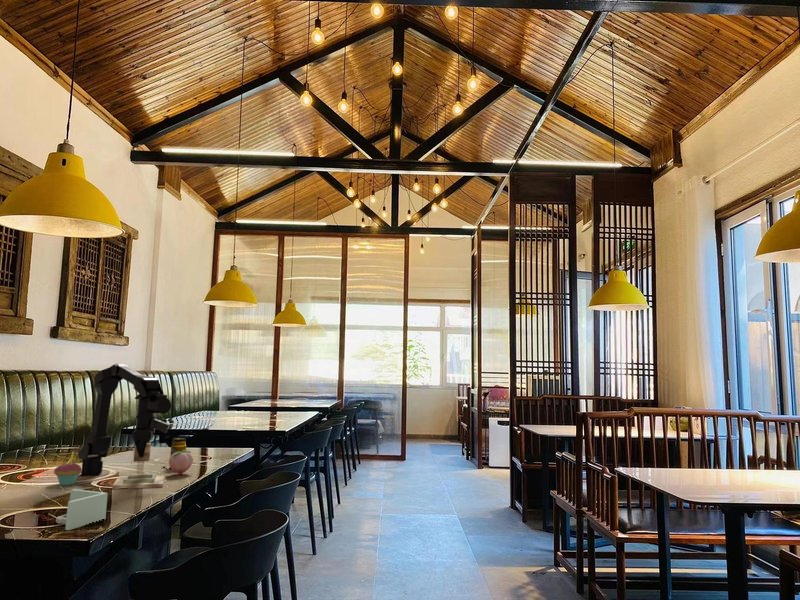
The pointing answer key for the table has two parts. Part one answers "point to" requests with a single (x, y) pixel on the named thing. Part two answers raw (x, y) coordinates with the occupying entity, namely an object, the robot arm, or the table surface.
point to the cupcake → (68, 472)
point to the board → (139, 481)
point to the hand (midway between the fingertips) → (141, 456)
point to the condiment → (178, 445)
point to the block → (145, 456)
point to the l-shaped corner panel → (84, 508)
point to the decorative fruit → (180, 461)
